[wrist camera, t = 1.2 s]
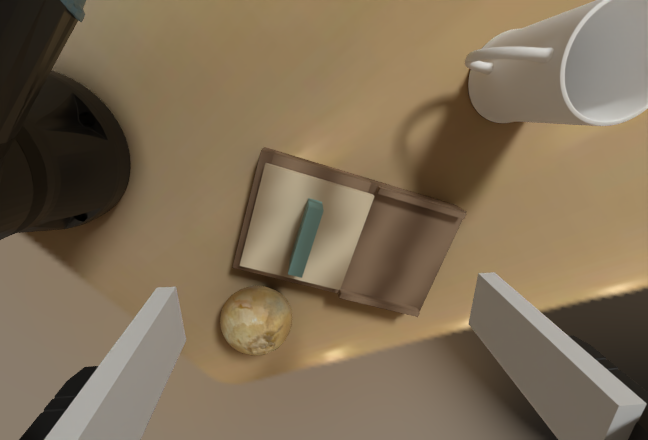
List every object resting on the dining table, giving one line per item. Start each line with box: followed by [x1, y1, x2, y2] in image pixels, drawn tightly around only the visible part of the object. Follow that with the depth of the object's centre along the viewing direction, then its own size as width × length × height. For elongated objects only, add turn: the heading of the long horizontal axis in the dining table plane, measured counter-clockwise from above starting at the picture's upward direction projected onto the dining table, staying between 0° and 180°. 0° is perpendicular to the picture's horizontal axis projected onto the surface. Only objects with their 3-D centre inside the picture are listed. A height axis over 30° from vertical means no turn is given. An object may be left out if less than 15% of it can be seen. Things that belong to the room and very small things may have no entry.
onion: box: [220, 285, 292, 355], centre depth 35 cm, size 8×8×7 cm
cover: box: [240, 163, 374, 290], centre depth 31 cm, size 11×11×4 cm
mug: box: [465, 0, 648, 126], centre depth 26 cm, size 12×8×12 cm
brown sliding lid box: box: [232, 147, 466, 317], centre depth 34 cm, size 22×13×4 cm, turn 73°
